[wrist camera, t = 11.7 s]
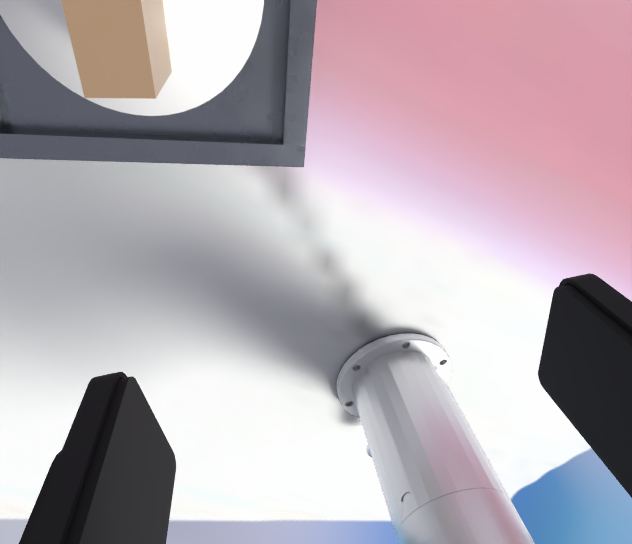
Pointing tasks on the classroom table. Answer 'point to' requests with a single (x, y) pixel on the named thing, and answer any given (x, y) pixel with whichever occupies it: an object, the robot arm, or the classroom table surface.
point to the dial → (138, 48)
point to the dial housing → (175, 129)
